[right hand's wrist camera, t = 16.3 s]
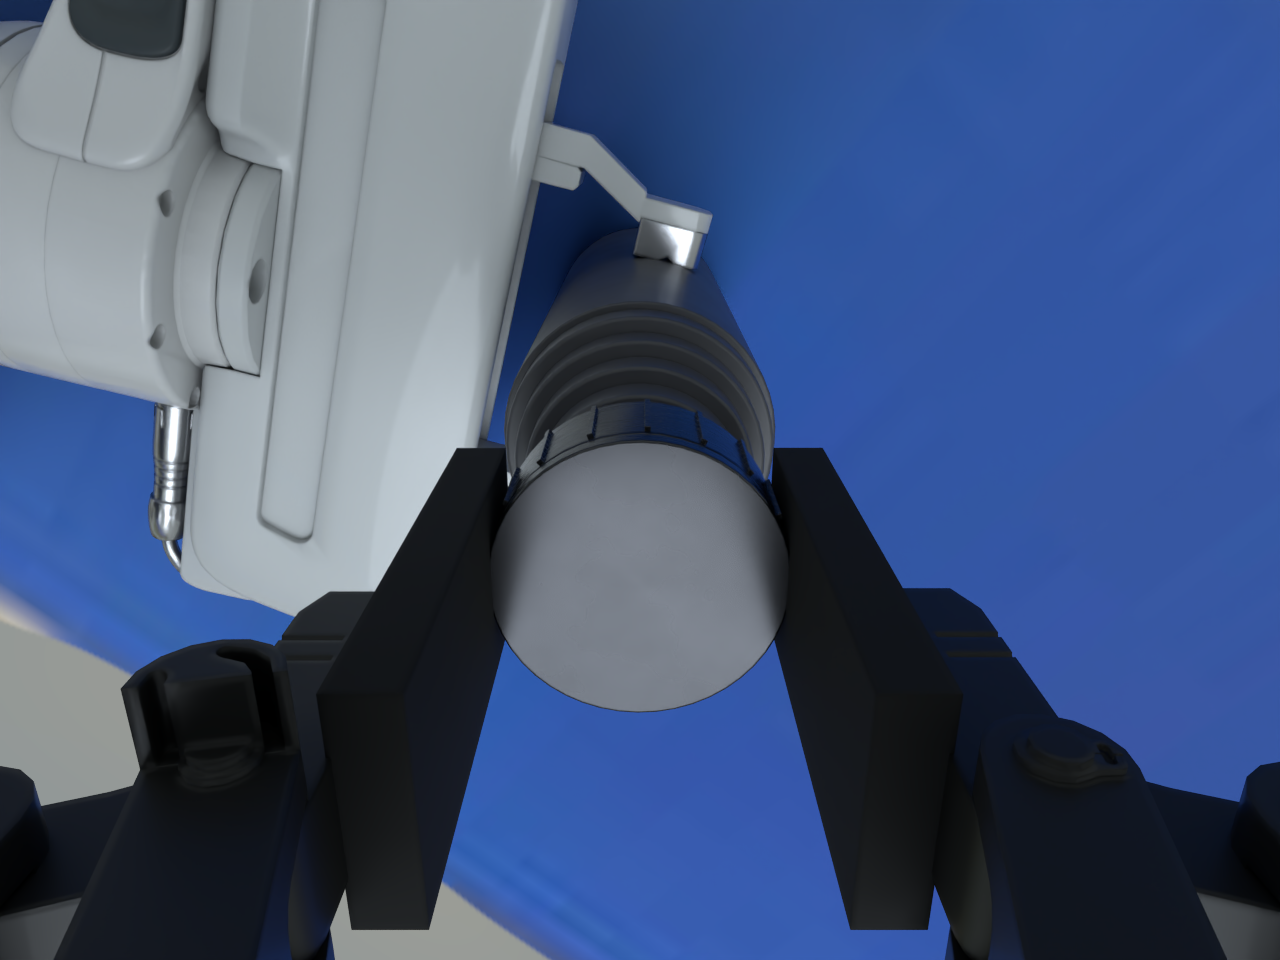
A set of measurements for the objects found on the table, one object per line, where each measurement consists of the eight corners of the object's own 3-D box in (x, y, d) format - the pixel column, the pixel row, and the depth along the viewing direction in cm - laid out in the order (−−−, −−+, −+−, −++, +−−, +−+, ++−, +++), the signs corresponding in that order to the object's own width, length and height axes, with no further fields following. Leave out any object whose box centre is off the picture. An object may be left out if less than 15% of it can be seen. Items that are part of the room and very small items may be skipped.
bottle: (601, 199, 30) (538, 310, 12) (747, 272, 31) (906, 483, 13) (535, 346, 32) (390, 647, 14) (676, 412, 33) (721, 778, 14)
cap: (490, 631, 15) (470, 696, 13) (515, 377, 13) (496, 414, 12) (747, 663, 15) (761, 732, 13) (801, 418, 14) (825, 460, 12)
